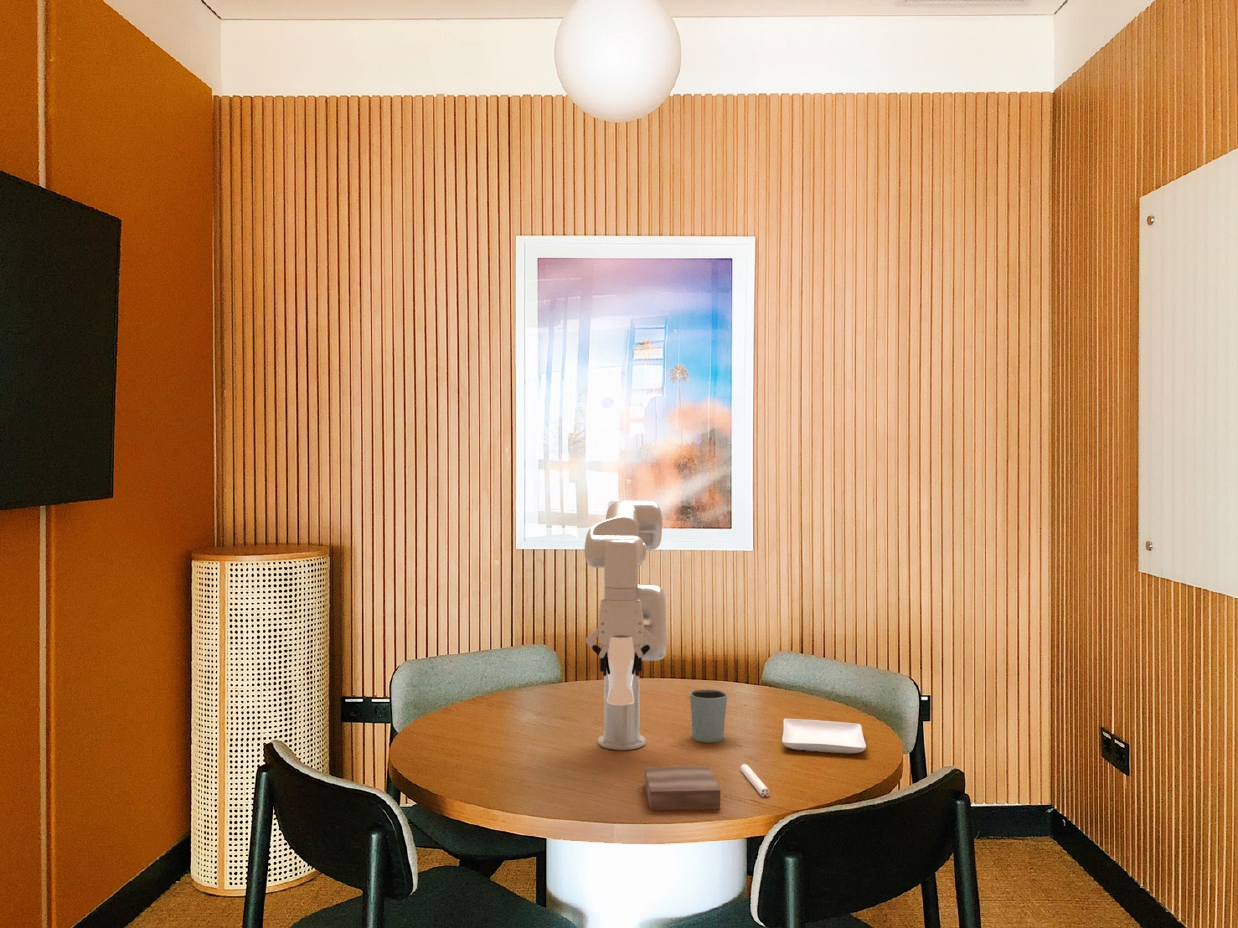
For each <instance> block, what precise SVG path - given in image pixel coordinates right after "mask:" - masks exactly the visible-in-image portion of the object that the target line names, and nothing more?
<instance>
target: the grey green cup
mask: <svg viewBox="0 0 1238 928" xmlns="http://www.w3.org/2000/svg"><path fill="white" fill-rule="evenodd" d="M689 700H690V701H689V702H690V711H691V712H690V714H691V716H690V717H691V718H690V719H691V734H692V736H691V737H692V739H693V740H695V741H697V742H700V743H717V742H718V743H719V742H721V741H723V740H724V736H725V732H724V731H725V721H726V720H725V719H726V713H727V711H726V710H727V707H726V706H727V701H728V694H727V693H726V692H724V691H721V690H717V689H697V690H695V689H694V690H692V691H690V692H689Z"/></svg>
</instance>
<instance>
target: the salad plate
mask: <svg viewBox="0 0 1238 928" xmlns="http://www.w3.org/2000/svg"><path fill="white" fill-rule="evenodd" d="M782 721H783V732H782V736H781V737H782V738H781V741H782V742H781V743H782V744H783V745H784V746H785V747H786V748H788V749H791V750H796V751H801V750H805V752H815V751H817V753H829V752H830V754H831V753H833V754H846V755H847V754H848V755H849V754H858V753H862V752H864V751H865V750H866V748H867V744H866V740H865V737H864V733H863V727H862V724H860V723H854V722H853V723H852V722H844V721H843V722H842V721H831V720H817V719H801V718H800V719H799V718H784V719H783V720H782Z"/></svg>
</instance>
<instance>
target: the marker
mask: <svg viewBox="0 0 1238 928" xmlns="http://www.w3.org/2000/svg"><path fill="white" fill-rule="evenodd" d="M740 771H741V773H742V774H743V775H744V776H745V777H746V778H747V780H748V781H749V782H750V784H751V785H752V786H753V787H754V788H755V790H756V791H757V792H758V793H759V795H760V796H761V797H765V796H766V797H769V796H770V790H769V788H768V787H767V786H766V785H765V784H764V781H762V780H761V779H760V778H759V776H757V774H756V773H755V771H753V770H752V769H751V767H750V766H749V765H748V764H745V763H743V764H742V765H741V766H740Z"/></svg>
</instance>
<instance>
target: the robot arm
mask: <svg viewBox="0 0 1238 928" xmlns="http://www.w3.org/2000/svg"><path fill="white" fill-rule="evenodd" d="M605 517H606V518H605V520H602V521H601V522H598V523H596V524H594V525H592V526H591V527H590V528H589V529H588V531H587V533H586V536H585V543H584V550H583V551H584V560H585V562H586V563H587V565H588V566H589V567H591V568H596V569H597V568H598V569H599V568H600V569H601V568H604V570H603V571H604V575H603V576H604V577H603V578H604V579H603V580H604V583H603V588H604V591H603V592H604V593H603V595H604V596H603V597H604V599H601V600H600V603H599V611H598V622H597V624H598V626H597V628H596V629H595V630H594V631H593V632H591V633H590V634H589V635H588V636H587V637H586V638H585V643H586V644H587V646H589V647H590V649H591V650H592V651H593V652H594V653H595V654H596V655H597V656H598V657H599V658H600V659H599V662H600V664H599V668H600V669H599V670H600V672H602V673H603V678H604V679H603V691H604V692H603V734H602V735H600V736H599V737H598V739H597V744H598V745H599V746H600V747H602V748H605V749H608V750H609V749H610V750H613V751H629V750H636V749H639V748H641V747H643V746H644V745H645V744H646V738H645V737H644V735H642V734H640V729H641V727H640V724H641V723H640V716H641V715H640V707H641V706H640V705H641V702H640V698H641V697H640V692H641V691H640V686H641V685H640V683H641V682H640V679H641V678H640V676H639V675H640V674H639V673H640V672H642V671H643V668H642V667H643V664H642V663H643V662H647V661H648V662H651V661H652V662H654V661H655V662H656V661H661V660H662V659H664V658H665V657H666V653H667V610H666V609H667V607H666V605H667V604H666V595H665V592H664V590H663V588H662V587H661V586H659V585H656V584H642V583H641V584H639V567H640V566H642V564H643V563H644V561H645V560H646V557H647V551H652V550H656V549H657V548H659V547H660V545H661V542H662V536H663V532H662V531H663V512H662V510H661V508H660V505H659V504H658V503H656V501H653V500H617V501H615V502H614V503H612V504H611V505H609V506H608V508H607V511H606V515H605ZM644 621H646V622H648V623H649V624H646V623H645V624H644ZM610 637H632V638H633V644H634V646H635V648H636V653H637V655H636V664H635V672H634V678H633V695H634V703H633V704H630V705H625V706H617V705H611V704H609V703H608V702H607V698H608V692H609V680H608V673H607V659H606V655H605V654H606V651H607V646H608V645H609V642H610ZM596 638H598V643H599V644H600V645H601V647H600V646H599V645H598V644H596V642H595V641H594V640H595V639H596Z"/></svg>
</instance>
